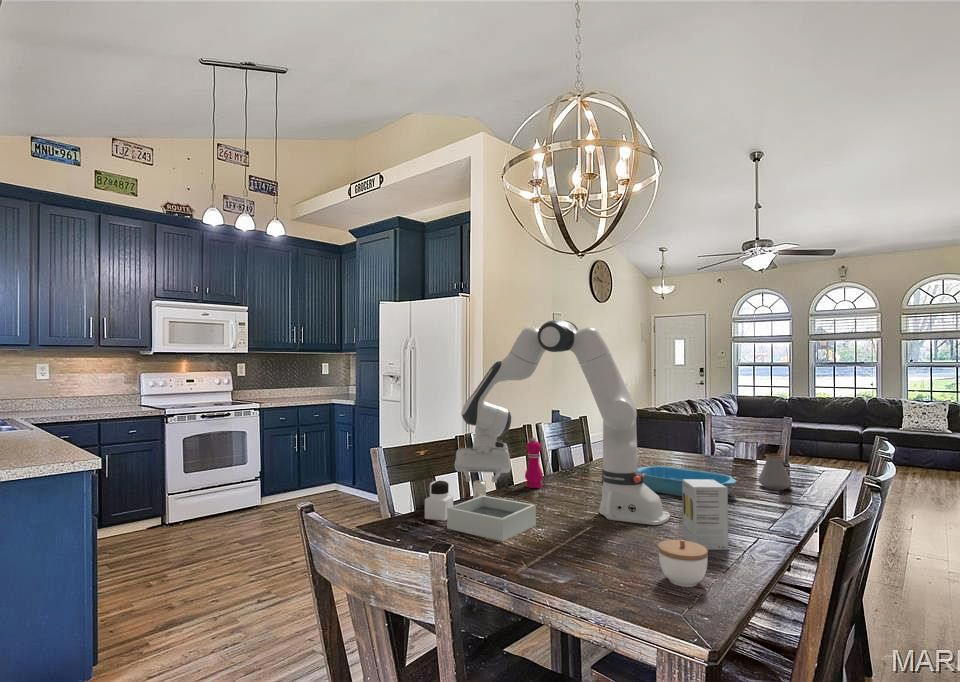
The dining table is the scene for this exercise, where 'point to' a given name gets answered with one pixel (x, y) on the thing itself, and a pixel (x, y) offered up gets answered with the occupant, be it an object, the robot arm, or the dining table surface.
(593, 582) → the dining table surface
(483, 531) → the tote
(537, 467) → the pepper mill
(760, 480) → the coffee pot
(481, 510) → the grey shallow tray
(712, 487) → the supplement box
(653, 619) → the dining table surface
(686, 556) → the lidded jar
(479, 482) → the tin can
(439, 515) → the medicine bottle
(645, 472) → the casserole dish
